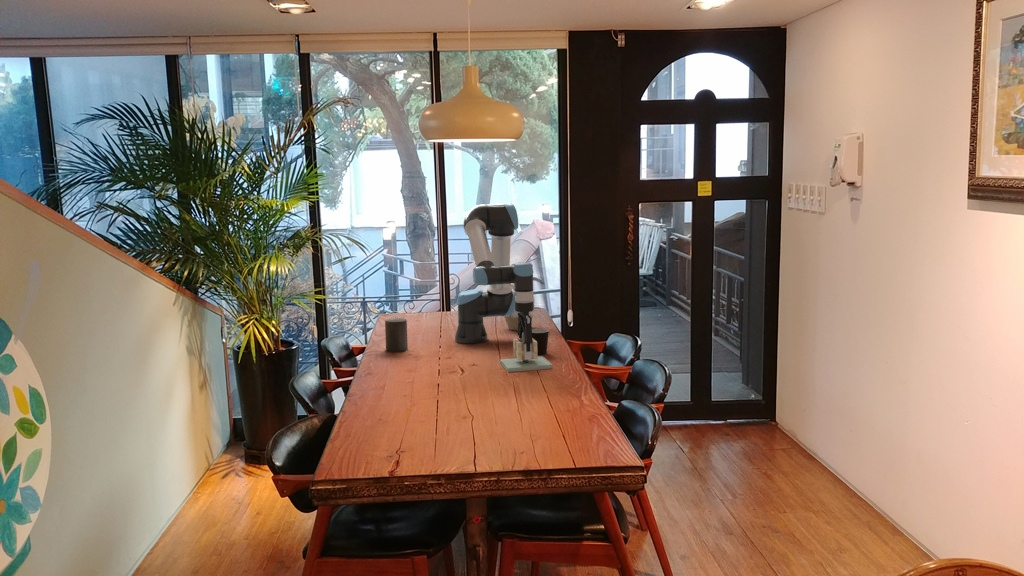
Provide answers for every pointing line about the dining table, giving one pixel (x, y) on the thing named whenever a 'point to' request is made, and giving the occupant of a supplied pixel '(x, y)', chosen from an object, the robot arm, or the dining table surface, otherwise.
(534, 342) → the wooden square ring
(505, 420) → the dining table surface
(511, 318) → the vase
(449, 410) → the dining table surface
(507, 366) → the rod stand
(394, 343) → the pillar candle
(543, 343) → the coffee mug
